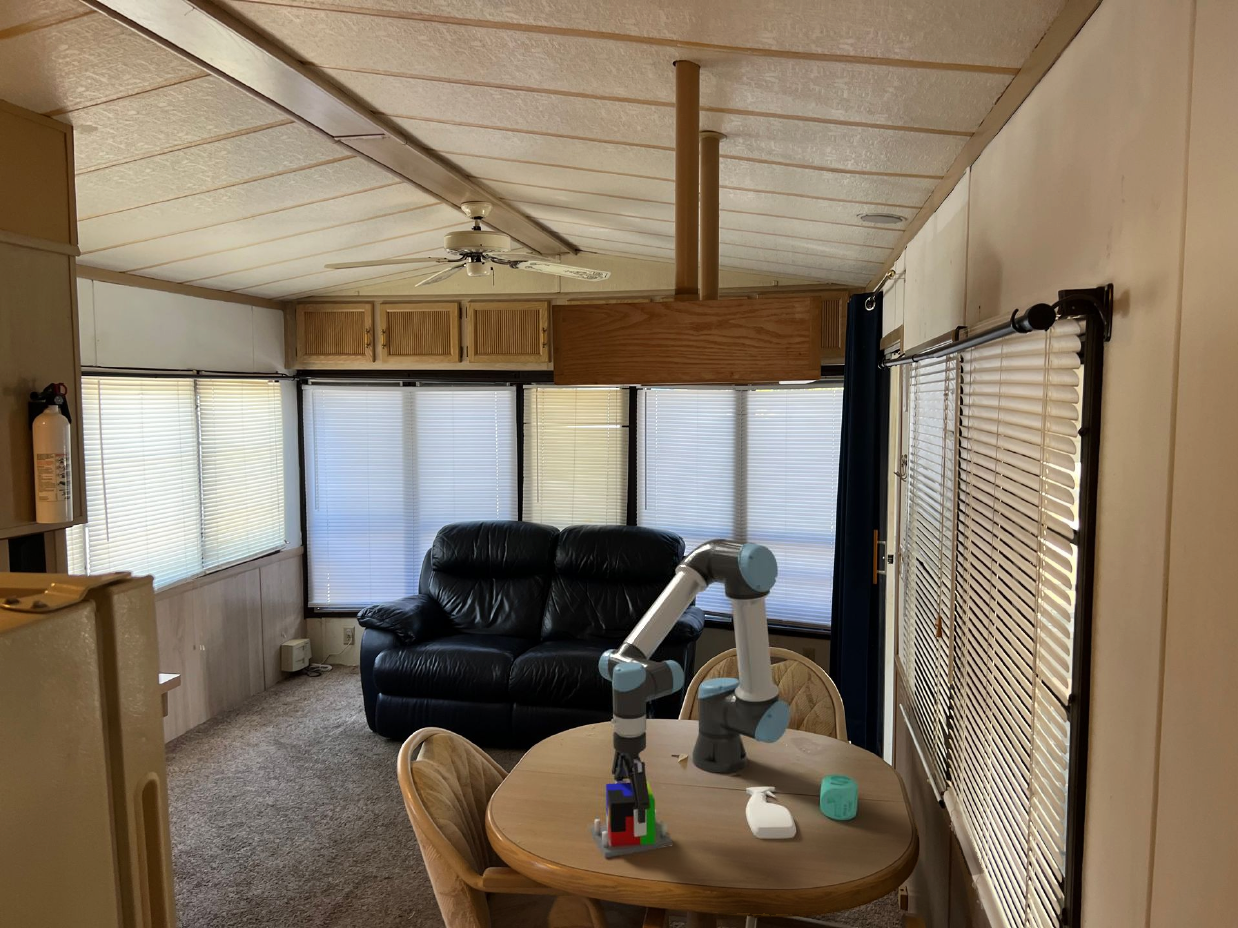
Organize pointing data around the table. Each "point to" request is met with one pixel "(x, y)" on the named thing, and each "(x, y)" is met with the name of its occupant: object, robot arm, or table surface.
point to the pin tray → (604, 845)
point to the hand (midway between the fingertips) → (630, 820)
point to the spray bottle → (768, 816)
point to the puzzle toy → (627, 816)
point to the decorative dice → (839, 797)
